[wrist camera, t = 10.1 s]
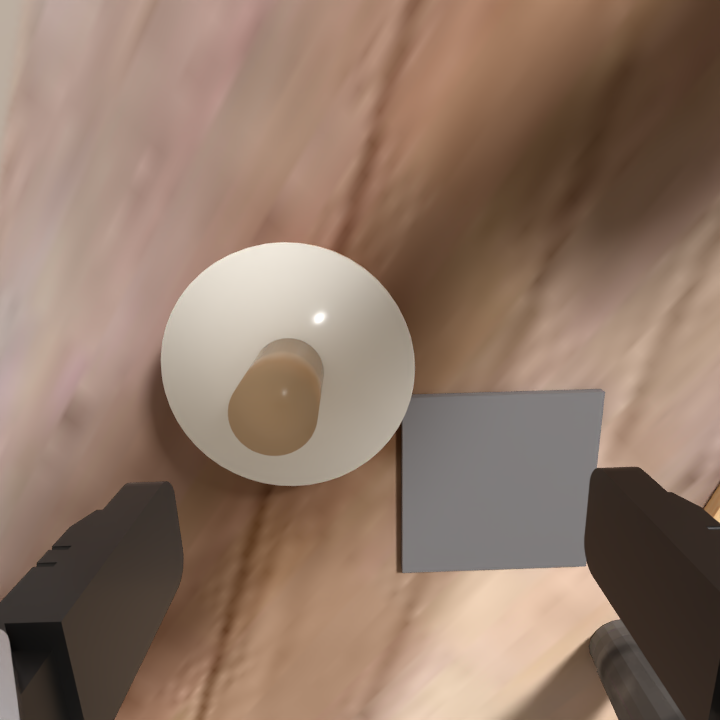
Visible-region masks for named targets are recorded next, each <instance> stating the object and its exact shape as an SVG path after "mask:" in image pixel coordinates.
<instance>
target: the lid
mask: <svg viewBox="0 0 720 720" xmlns="http://www.w3.org/2000/svg"><path fill="white" fill-rule="evenodd" d="M161 373H162V380H163V385H164V390H165V394H166V396H167V399H168V402H169V405H170V408H171V410H172V412H173V414H174V416H175V418H176V420H177V422H178V423H179V425H180V426H181V428H182V429H183V431H184V432H185V434H186V435H187V436H188V437H189V438H190V440H191V441H192V442H193V443H194V444H195V445H196V446H197V447H198V448H199V449H200V450H201V451H202V452H203V453H204V454H205V455H207V456H208V457H209V458H210V459H212V460H213V461H215V462H216V463H217V464H219V465H220V466H222V467H224V468H226V469H228V470H229V471H231V472H233V473H235V474H237V475H240V476H242V477H245V478H247V479H250V480H254V481H258V482H262V483H266V484H273V485H280V486H301V485H312V484H316V483H321V482H326V481H329V480H332V479H335V478H338V477H341V476H343V475H345V474H347V473H349V472H351V471H353V470H355V469H357V468H358V467H360V466H361V465H363V464H364V463H366V462H367V461H369V460H370V459H371V458H372V457H373V456H375V455H376V454H377V453H378V452H379V451H380V450H381V449H382V448H383V447H384V446H385V445H386V444H387V443H388V441H389V440H390V439H391V437H392V436H393V435H394V433H395V432H396V430H397V429H398V427H399V425H400V424H401V422H402V420H403V418H404V416H405V414H406V411H407V408H408V405H409V403H410V400H411V395H412V391H413V386H414V376H415V360H414V350H413V345H412V340H411V336H410V333H409V330H408V327H407V324H406V322H405V320H404V318H403V316H402V314H401V312H400V310H399V308H398V306H397V304H396V303H395V301H394V300H393V298H392V297H391V295H390V294H389V292H388V291H387V290H386V289H385V287H384V286H383V285H382V284H381V283H380V282H379V281H378V280H377V279H376V278H375V277H374V276H373V275H372V274H371V273H370V272H368V271H367V270H366V269H365V268H364V267H362V266H361V265H359V264H358V263H356V262H354V261H353V260H351V259H350V258H348V257H346V256H344V255H342V254H339V253H337V252H335V251H333V250H330V249H326V248H323V247H320V246H317V245H311V244H306V243H297V242H277V243H266V244H262V245H258V246H253V247H249V248H246V249H243V250H241V251H238V252H235V253H233V254H230V255H228V256H226V257H225V258H223V259H221V260H219V261H217V262H215V263H214V264H213V265H211V266H210V267H209V268H207V269H206V270H205V271H203V272H202V273H201V274H200V275H199V276H198V277H197V278H196V279H195V280H194V281H193V282H192V283H191V284H190V285H189V286H188V287H187V289H186V290H185V291H184V293H183V294H182V295H181V296H180V298H179V300H178V301H177V303H176V305H175V307H174V309H173V310H172V312H171V315H170V317H169V320H168V323H167V325H166V328H165V333H164V337H163V341H162V350H161Z"/></svg>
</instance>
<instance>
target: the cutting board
mask: <svg viewBox="0 0 720 720" xmlns="http://www.w3.org/2000/svg"><path fill="white" fill-rule="evenodd" d="M704 510H705V511H706V512H707V513H708V514H710V515H711V516H712V517H713V518H714V519H716V520H717V521H718V522H719V523H720V485H719V486H718V488H717V489H716V491H715V492H714V494H713V496H712V497H711V499H710V500H709V502H708V503H707V505H706V506H705V508H704Z"/></svg>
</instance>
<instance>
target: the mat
mask: <svg viewBox="0 0 720 720" xmlns="http://www.w3.org/2000/svg"><path fill="white" fill-rule="evenodd" d="M604 396H605V392H604V391H603V390H601V389H585V390H550V391H516V392H482V393H447V394H413V395H411V400H410V403H409V405H408V408H407V411H406V414H405V416H404V418H403V420H402V573H411V572H439V571H467V570H495V569H523V568H551V567H579V566H586V556H585V550H584V535H585V525H586V514H587V504H588V493H589V483H590V477H591V474H592V472H593V470H594V469H596V468H597V460H598V451H599V442H600V433H601V424H602V415H603V406H604Z"/></svg>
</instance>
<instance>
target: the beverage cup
mask: <svg viewBox="0 0 720 720" xmlns="http://www.w3.org/2000/svg"><path fill="white" fill-rule="evenodd" d="M589 649H590V654H591V656H592V658H593V660H594V663H595V666H596V668H597V673H598V675H599V677H600V679H601V681H602V684H603V686H604V688H605V690H606V693H607V695H608V697H609V699H610V702H611V704H612V706H613V708H614V710H615V713H616V715H617V717H618V719H619V720H686V719H685V718H684V716H683V714H682V713H681V711H680V710H679V708H678V707H677V705H676V704H675V702H674V701H673V699H672V698H671V696H670V694H669V693H668V691H667V690H666V688H665V687H664V685H663V684H662V682H661V681H660V679H659V678H658V676H657V674H656V673H655V671H654V670H653V668H652V667H651V665H650V664H649V662H648V661H647V659H646V658H645V656H644V654H643V653H642V651H641V650H640V648H639V647H638V645H637V644H636V642H635V641H634V639H633V637H632V636H631V634H630V633H629V631H628V630H627V628H626V627H625V625H624V624H623V622H622V621H621V620H616V621H611V622H609V623H607V624H605V625H603V626H602V627H601V628H599V629H598V630H597V631H596V632H595V634H594V635H593V637H592V638H591V641H590V645H589Z"/></svg>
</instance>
